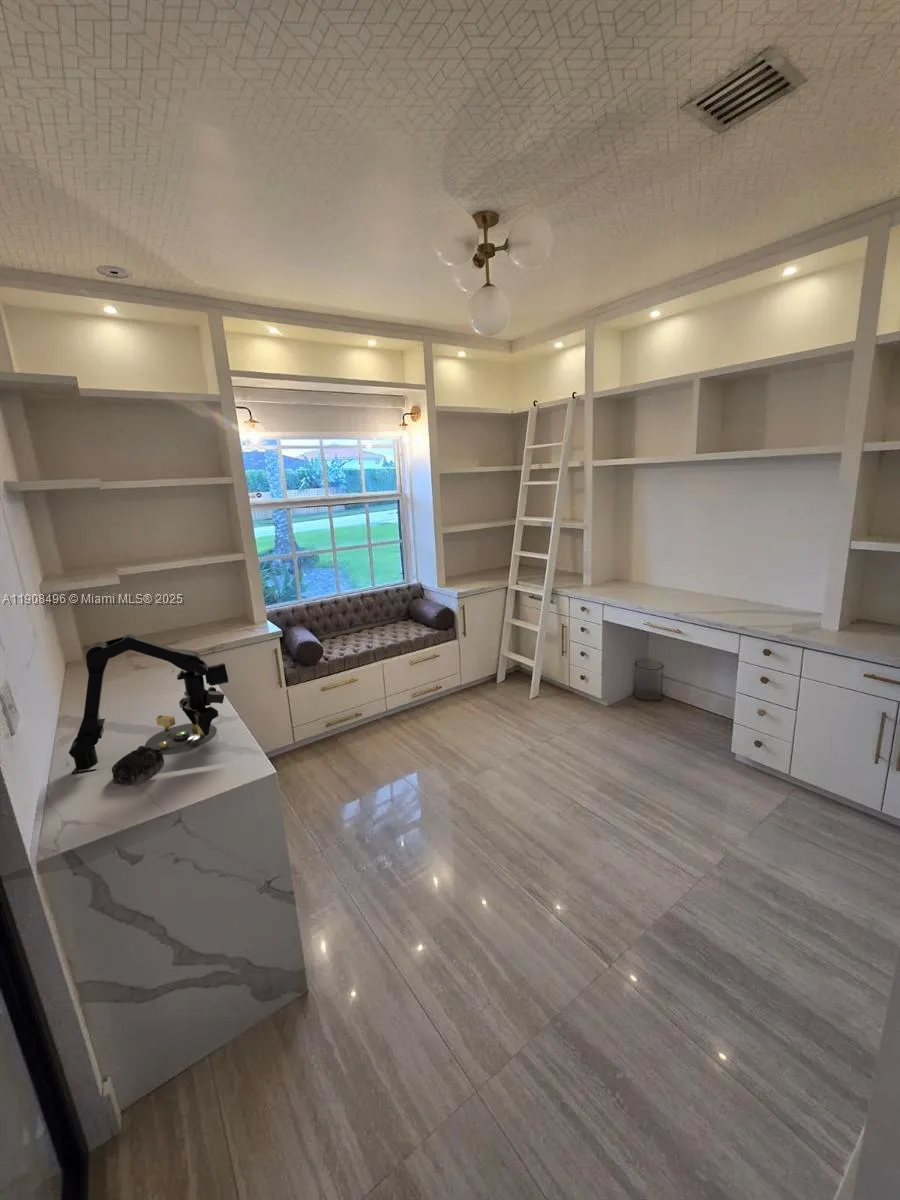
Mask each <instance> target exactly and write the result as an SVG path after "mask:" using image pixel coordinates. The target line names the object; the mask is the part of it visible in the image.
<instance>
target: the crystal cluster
mask: <svg viewBox="0 0 900 1200" xmlns="http://www.w3.org/2000/svg"><path fill="white" fill-rule="evenodd" d="M164 765H165V759H164V755H163V754H162V752H161V750H160V749H153V748H150V747H145V745H140V746H138V747H137V748H136V749H135V750H131V751H130V752H129V753H127V754H126V755H124V756H123V757H121V758H120V759H119V760H118V761H117V762H115V764H113V765H112V767H111V773H112V779H113V781H112V782H113V783H114V785H118V786H119V785H120V786H132V785H136V784H137V785H139V784H144V783H145V782H146V781H149V780H151V779H152V778H153V777H154V776H156V773H155V772H156V771H158V770H159V769H161V768H163V767H164Z"/></svg>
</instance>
